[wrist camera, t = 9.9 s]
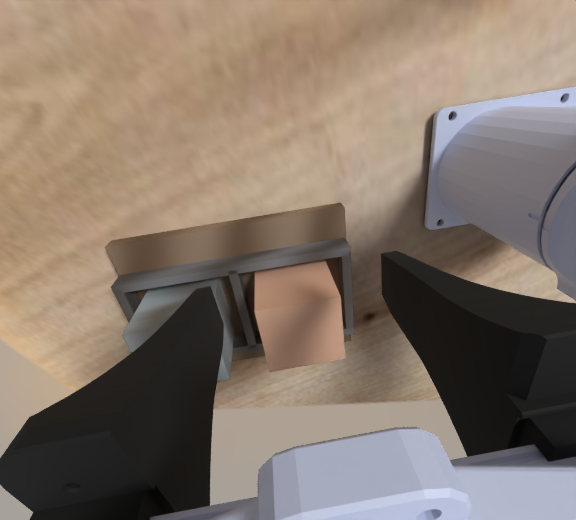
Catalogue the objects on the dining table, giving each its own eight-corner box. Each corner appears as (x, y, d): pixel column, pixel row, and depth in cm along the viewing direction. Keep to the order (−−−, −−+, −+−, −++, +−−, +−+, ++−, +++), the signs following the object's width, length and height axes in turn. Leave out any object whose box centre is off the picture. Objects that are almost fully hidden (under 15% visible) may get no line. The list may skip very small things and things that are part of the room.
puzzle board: (340, 202, 21) (369, 238, 16) (348, 332, 27) (370, 390, 21) (111, 240, 21) (61, 289, 15) (168, 363, 26) (146, 429, 21)
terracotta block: (323, 256, 22) (340, 296, 17) (329, 310, 24) (345, 358, 20) (254, 268, 22) (254, 311, 17) (267, 321, 24) (269, 371, 20)
